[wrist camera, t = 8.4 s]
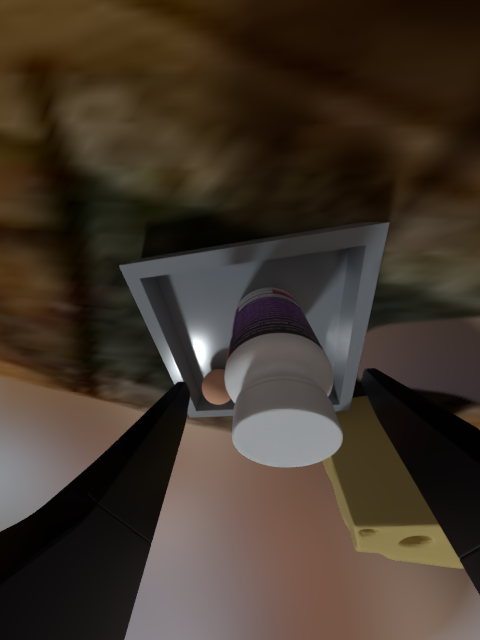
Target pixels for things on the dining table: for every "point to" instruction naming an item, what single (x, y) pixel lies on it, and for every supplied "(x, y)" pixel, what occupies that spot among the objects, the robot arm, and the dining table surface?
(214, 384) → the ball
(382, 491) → the cheese
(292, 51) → the dining table surface
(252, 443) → the pill bottle
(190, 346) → the tray
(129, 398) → the dining table surface
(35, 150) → the dining table surface
